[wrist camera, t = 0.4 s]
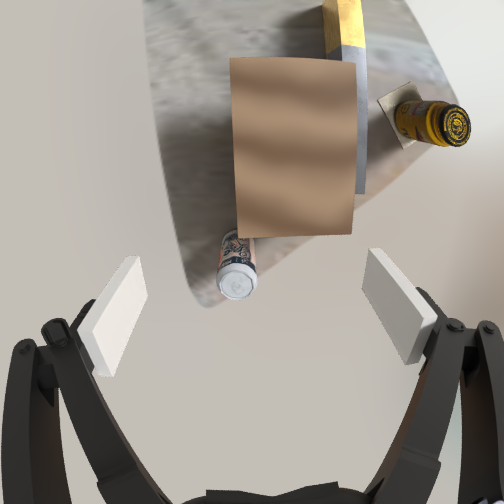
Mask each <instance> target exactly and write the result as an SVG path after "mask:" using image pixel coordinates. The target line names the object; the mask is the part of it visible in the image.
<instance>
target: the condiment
mask: <svg viewBox="0 0 504 504" xmlns="http://www.w3.org/2000/svg"><path fill="white" fill-rule="evenodd" d="M378 101H379V103H380V104H381V106H382V108H383V110H384V111H385V113H386V115H387V117H388V119H389V121H390V123H391V125H392V127H393V129H394V131H395V133H396V135H397V137H398V139H399V141H400V143H401V145H402V147H403V149H405V148H406V147H408V146H409V145H411V144H412V143H414V142H416V141H421V142H426V143H430V144H434V145H438V146H443V147H447V146H454V147H460V146H462V145H464V144H465V143H466V142H467V140H468V139H469V137H470V132H471V123H470V119H469V117H468V114H467V113H466V111H465V110H464V109H463V108H461V107H459V106H458V105H455V104H449V103H447V102H444V101H423V100H422V99H421V97H420V95H419V93H418V91H417V88H416V86H415V85H414V83H413V81H412V82H410V83H407V84H406V85H404V86H402V87H400V88H398V89H396V90H394V91H393V92H391V93H389V94H387V95H385V96H384V97H382V98H380V99H378ZM394 104H395V109H394Z"/></svg>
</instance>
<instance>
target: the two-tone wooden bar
mask: <svg viewBox="0 0 504 504" xmlns="http://www.w3.org/2000/svg"><path fill="white" fill-rule="evenodd" d="M322 11H323V22H324V35H325V50H326V60H335V61H344V62H352V63H356V78H357V159H356V181H355V194H365V181H366V162H367V129H368V101H367V69H366V52H365V39H364V28H363V18H362V10H361V2H360V0H325V1H324V3H323V4H322Z"/></svg>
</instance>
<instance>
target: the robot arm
mask: <svg viewBox="0 0 504 504" xmlns="http://www.w3.org/2000/svg"><path fill="white" fill-rule="evenodd" d="M362 290H363V292H364V293H365V295H366V297H367V298H368V300H369V302H370V303H371V305H372V307H373V309H374V310H375V312H376V314H377V315H378V317H379V319H380V321H381V322H382V324H383V326H384V327H385V329H386V331H387V333H388V335H389V336H390V338H391V340H392V342H393V344H394V346H395V347H396V349H397V351H398V353H399V355H400V357H401V358H402V360H403V362H404V364H405V365H409V364H414V363H418V362H419V360H420V358H421V355H422V354H424V356H425V357H426V361H425V362H424V364H423V366H422V369H421V371H420V373H419V375H420V377H419V379H418V382H417V385H416V388H415V391H414V393H413V396H412V398H411V401H410V404H409V406H408V409H407V411H406V414H405V416H404V418H403V421H402V423H401V425H400V427H399V430H398V432H397V434H396V436H395V438H394V440H393V442H392V444H391V447H390V448H389V450H388V453H387V454H386V456H385V458H384V460H383V463H382V464H381V466H380V468H379V470H378V471H377V473H376V475H375V477H374V478H373V480H372V482H371V483H370V484H369V485H368V487H367V488H366V490H365V491H364V493H362V492H359V491H356V490H353V489H347V488H339V486H338V482H331V483H325V484H319V485H312V486H306V487H303V488H300V489H297V490H294V491H291V492H288V493H284V494H281V495H278V496H265V495H259V494H254V493H248V492H243V491H229V490H228V491H227V490H226V491H225V490H206V496H202V497H198V498H194V499H191V500H189V501H186V502H184V503H182V504H426V503H427V500H428V498H429V496H430V494H431V491H432V489H433V486H434V484H435V481H436V479H437V476H438V474H439V471H440V467H441V462H439V461H438V458H439V454H440V451H441V449H442V445H443V442H444V439H445V435H446V432H447V429H448V425H449V422H450V418H451V414H452V410H453V406H454V402H455V398H456V393H457V388H458V383H459V380H460V393H461V410H462V454H461V472H460V483H459V493H458V504H504V341H503V338H502V335H501V332H500V330H499V328H498V327H497V326H496V325H495V324H494V323H492V322H490V321H481V322H480V323H479V324H478V327H477V329H467V328H466V327H465V325H464V324H463V323H462V322H461V321H459V320H457V319H454V318H447V316H446V315H445V314H444V313H443V312H442V310H441V309H440V308H439V307H438V305H437V304H435V302H434V301H433V299H431V297H430V296H429V295H428V293H427V292H425V291H424V290H422V289H421V288H419V287H416V288H415V287H414V286H413V285H412V284H411V283H410V281H409V280H408V279H407V278H406V277H405V275H404V274H403V273H402V272H401V271H400V270H399V269H398V268H397V266H396V265H395V264H394V263H393V262H392V261H391V260H390V258H389V257H388V256H387V255H386V254H385V253H384V252H383V251H382V250H381V248H369V250H368V256H367V262H366V268H365V274H364V280H363V285H362ZM147 297H148V294H147V290H146V286H145V281H144V277H143V272H142V268H141V263H140V258H139V256H127V257H126V258H125V260H124V261H123V262H122V264H121V265H120V267H119V268H118V269H117V271H116V272H115V274H114V275H113V277H112V278H111V279H110V281H109V282H108V284H107V285H106V287H105V288H104V290H103V291H102V292H101V294H100V295H99V297H98V298H97V299H92V300H90V301H89V302H88V303H86V304H85V305H84V307H83V308H82V309H81V311H80V313H79V314H78V315H77V318H75V320H74V321H73V323H72V324H71V326H70V327H69V326H68V324H67V322H66V320H65V319H62V318H55V319H52V320H50V321H48V322H47V323H46V324H45V325H43V327H42V329H41V333H42V336H43V338H44V340H45V341H46V343H47V346H39V347H37V345H36V343H35V342H34V340H32V339H24V340H21V341H20V342H18V343H17V344H16V345H15V347H14V349H13V353H12V357H11V363H10V368H9V374H8V380H7V386H6V394H5V402H4V411H3V423H2V443H1V444H2V445H1V469H2V488H3V500H4V504H72V502H71V498H70V493H69V488H68V483H67V477H66V471H65V465H64V458H63V450H62V441H61V432H60V431H61V430H60V417H59V395H58V394H59V391H58V388H60V390H61V393H62V396H63V399H64V402H65V405H66V408H67V410H68V413H69V416H70V419H71V421H72V424H73V426H74V429H75V431H76V434H77V436H78V439H79V441H80V443H81V445H82V448H83V450H84V452H85V454H86V456H87V458H88V461H89V463H90V465H91V467H92V469H93V471H94V473H95V474H96V476H97V479H98V482H97V487H98V489H99V491H100V493H101V495H102V497H103V499H104V500H105V502H106V504H173V503H172V502H171V501H170V500H169V499H168V498H167V496H166V495H165V494H164V493H163V492H162V490H161V489H160V488H159V487H158V485H157V484H156V483H155V481H154V480H153V478H152V477H151V476H150V474H149V473H148V471H147V470H146V468H145V467H144V466H143V464H142V463H141V462H140V460H139V458H138V457H137V455H136V453H135V452H134V450H133V449H132V447H131V446H130V444H129V442H128V441H127V439H126V437H125V436H124V434H123V432H122V431H121V429H120V427H119V425H118V424H117V422H116V420H115V418H114V417H113V415H112V413H111V411H110V409H109V408H108V406H107V403H106V402H105V400H104V398H103V396H102V394H101V392H100V390H99V388H98V386H97V383H96V381H95V379H94V377H93V375H92V371H93V369H94V367H95V369H96V371H97V373H98V375H99V376H105V377H113V376H114V374H115V371H116V369H117V366H118V364H119V361H120V359H121V356H122V354H123V352H124V349H125V347H126V344H127V342H128V340H129V338H130V335H131V333H132V330H133V328H134V326H135V324H136V322H137V319H138V317H139V315H140V313H141V310H142V308H143V306H144V304H145V302H146V299H147Z"/></svg>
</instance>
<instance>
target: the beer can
mask: <svg viewBox="0 0 504 504" xmlns="http://www.w3.org/2000/svg"><path fill="white" fill-rule="evenodd" d="M254 244H255V243H254V239H253V238H238V230H233V231H230V232H229V233H227V234H226V235H225V236H224V238H223V241H222V246H221V252H220V258H219V265H218V271H217V277H216V283H217V287H218V289H219V290H220V292H221V293H222V294H223V295H225V296H226V297H227V298H228V299H232V300H242V299H244V298H246V297H249V296H250V295H251V294H252V293H253V292H254V291H255V289H256V287H257V283H258V280H257V273H256V261H255V248H254Z"/></svg>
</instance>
